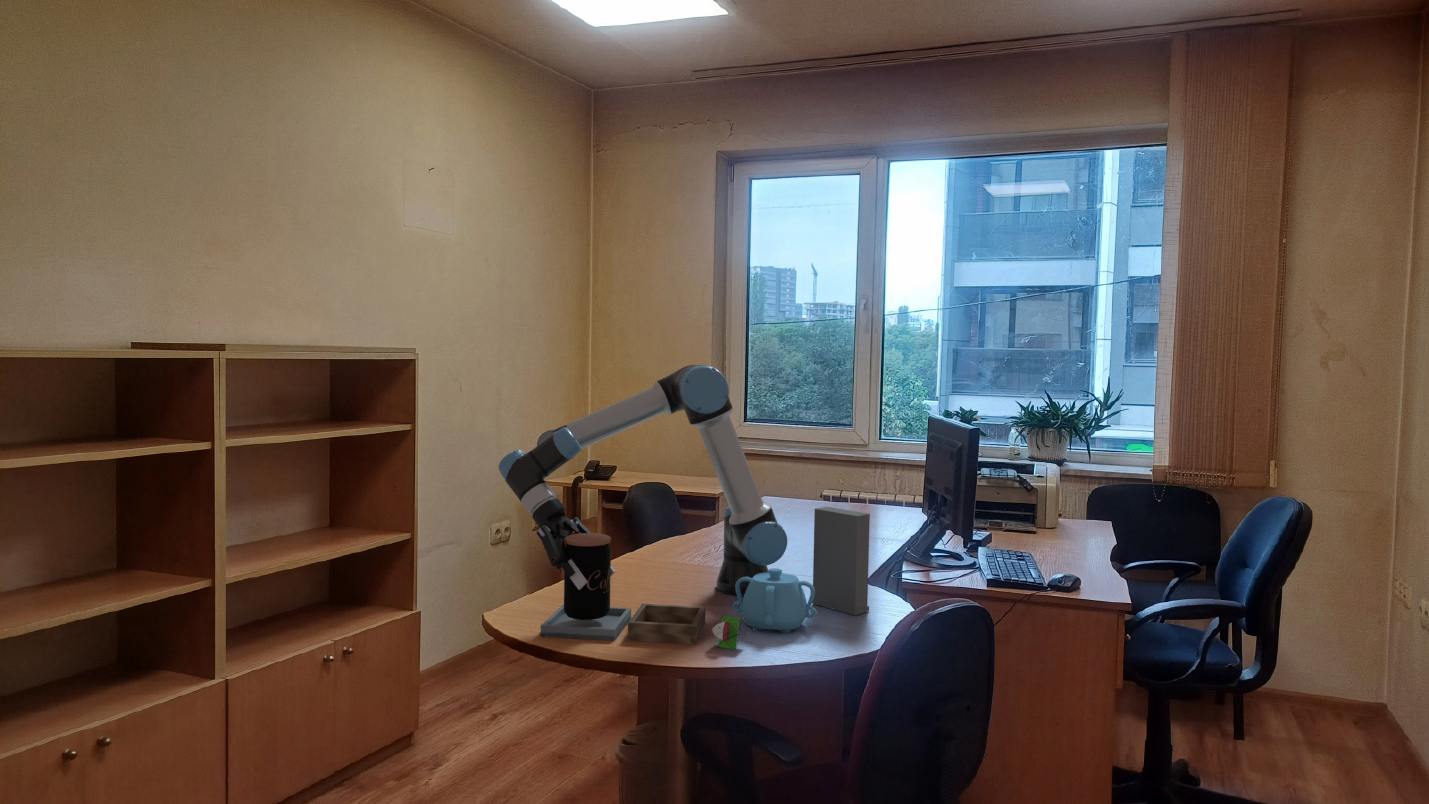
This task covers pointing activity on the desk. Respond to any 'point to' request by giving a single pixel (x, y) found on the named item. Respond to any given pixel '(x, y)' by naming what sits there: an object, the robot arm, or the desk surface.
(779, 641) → the desk surface
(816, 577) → the upright grey slab box
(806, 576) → the desk surface
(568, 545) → the coffee jar
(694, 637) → the walnut collar
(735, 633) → the geometric puzzle
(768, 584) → the decorative pot
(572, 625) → the grey tray
